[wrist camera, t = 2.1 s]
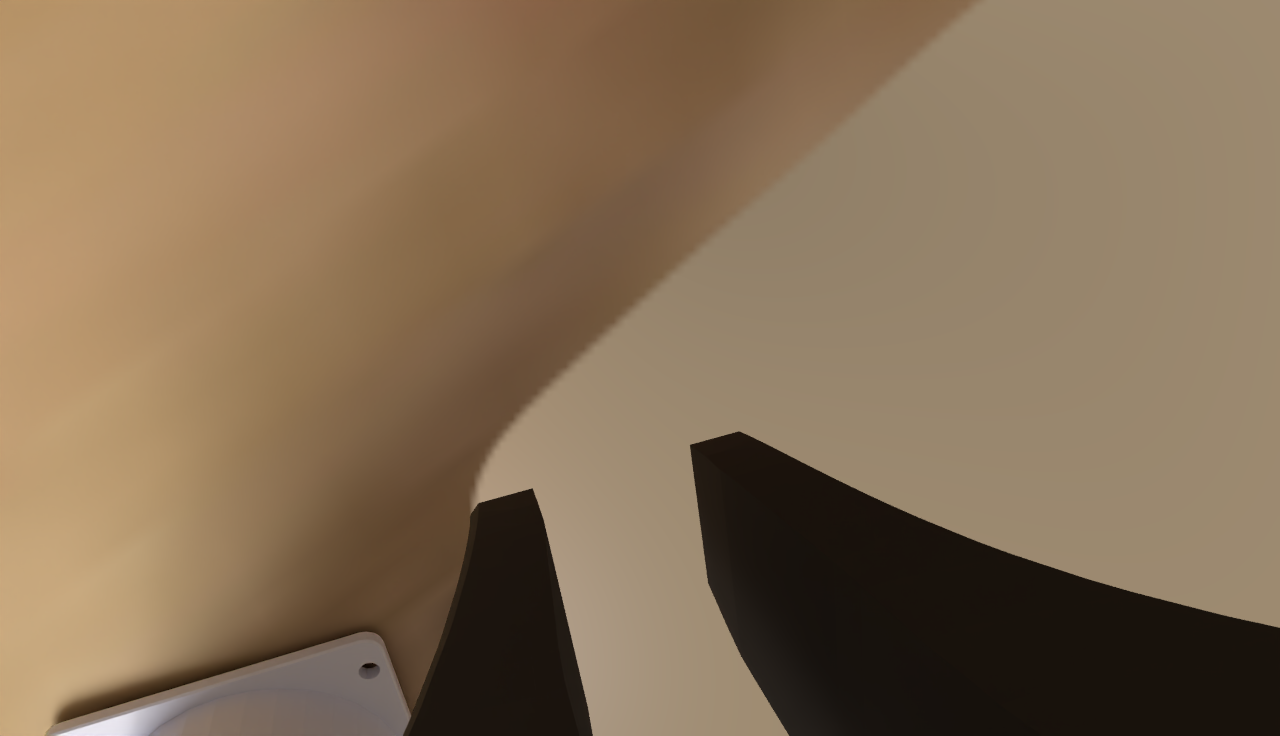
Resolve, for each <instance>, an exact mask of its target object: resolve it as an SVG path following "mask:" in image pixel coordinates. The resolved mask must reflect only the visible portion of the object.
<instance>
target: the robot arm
mask: <svg viewBox="0 0 1280 736" xmlns="http://www.w3.org/2000/svg"><path fill="white" fill-rule="evenodd" d="M690 449H691V457H692V464H693V472H694V479H695V486H696V494H697V502H698V509H699V517H700V525H701V531H702V540H703V547H704V555H705V562H706V569H707V578H708V584H709V586H710V588H711V590H712V593H713V595H714V597H715V599H716V602H717V604H718V606H719V608H720V611H721V613H722V615H723V618H724V620H725V622H726V624H727V626H728V629H729V631H730V633H731V635H732V637H733V639H734V642H735V644H736V646H737V648H738V650H739V652H740V654H741V657H742V658H743V660H744V662H745V663H746V665H747V667H748V668H749V670H750V672H751V673H752V675H753V677H754V678H755V680H756V682H757V683H758V685H759V687H760V688H761V690H762V692H763V693H764V695H765V697H766V698H767V700H768V702H769V703H770V705H771V707H772V708H773V710H774V711H775V713H776V714H777V716H778V718H779V720H780V721H781V723H782V725H783V726H784V728H785V730H786V731H787V733H788V734H789V736H1280V628H1278V627H1273V626H1268V625H1264V624H1260V623H1255V622H1251V621H1246V620H1241V619H1237V618H1233V617H1228V616H1224V615H1220V614H1216V613H1212V612H1208V611H1204V610H1200V609H1196V608H1192V607H1188V606H1184V605H1181V604H1177V603H1173V602H1168V601H1165V600H1161V599H1157V598H1153V597H1149V596H1145V595H1142V594H1138V593H1134V592H1130V591H1127V590H1123V589H1120V588H1116V587H1113V586H1109V585H1106V584H1102V583H1099V582H1095V581H1092V580H1089V579H1085V578H1082V577H1079V576H1076V575H1073V574H1070V573H1067V572H1064V571H1061V570H1058V569H1055V568H1052V567H1049V566H1046V565H1043V564H1039V563H1037V562H1033V561H1031V560H1028V559H1025V558H1022V557H1018V556H1015V555H1012V554H1010V553H1007V552H1004V551H1001V550H999V549H996V548H993V547H991V546H987V545H985V544H982V543H980V542H977V541H974V540H972V539H969V538H967V537H965V536H962V535H960V534H957V533H955V532H952V531H950V530H947V529H945V528H943V527H940V526H938V525H935V524H933V523H930V522H928V521H925V520H923V519H921V518H918V517H916V516H914V515H911V514H909V513H907V512H905V511H902V510H900V509H898V508H896V507H893V506H891V505H889V504H887V503H884V502H882V501H880V500H878V499H876V498H874V497H871V496H869V495H867V494H865V493H863V492H861V491H859V490H857V489H855V488H852V487H850V486H848V485H846V484H844V483H842V482H840V481H838V480H836V479H834V478H832V477H830V476H828V475H826V474H824V473H822V472H820V471H818V470H816V469H814V468H812V467H810V466H808V465H806V464H804V463H802V462H800V461H798V460H796V459H794V458H792V457H790V456H788V455H787V454H784V453H783V452H781V451H779V450H777V449H775V448H773V447H771V446H769V445H767V444H765V443H763V442H761V441H759V440H756V439H755V438H753V437H750V436H748V435H746V434H744V433H742V432H735V433H732V434H728V435H724V436H721V437H717V438H714V439H710V440H706V441H703V442H699V443H695V444H692V445H690ZM366 663H374V664H377V666H375V667H373V668H364V667H362V665H364V664H366ZM45 736H593V734H592V729H591V723H590V717H589V712H588V706H587V702H586V698H585V694H584V690H583V685H582V681H581V677H580V672H579V668H578V664H577V660H576V656H575V651H574V647H573V643H572V639H571V635H570V631H569V626H568V622H567V617H566V613H565V609H564V605H563V600H562V596H561V592H560V588H559V583H558V579H557V575H556V571H555V566H554V562H553V558H552V554H551V550H550V546H549V541H548V537H547V533H546V529H545V524H544V520H543V517H542V514H541V511H540V508H539V505H538V502H537V499H536V497H535V495H534V491H533V489H529V490H525V491H522V492H518V493H514V494H511V495H507V496H503V497H500V498H496V499H492V500H489V501H485V502H482V503H478V505H477V506H476V508H475V509H474V511H473V512H472V514H471V518H470V530H469V536H468V542H467V547H466V552H465V557H464V561H463V565H462V569H461V573H460V577H459V581H458V585H457V589H456V592H455V595H454V598H453V601H452V605H451V608H450V611H449V614H448V618H447V621H446V624H445V627H444V631H443V634H442V637H441V640H440V643H439V646H438V648H437V651H436V654H435V656H434V659H433V662H432V664H431V667H430V669H429V672H428V674H427V677H426V680H425V682H424V685H423V687H422V690H421V692H420V695H419V698H418V700H417V703H416V705H415V708H414V710H413V713H412V715H411V714H410V711H409V709H408V706H407V703H406V700H405V698H404V695H403V692H402V690H401V687H400V684H399V681H398V679H397V676H396V673H395V671H394V668H393V665H392V662H391V660H390V657H389V654H388V652H387V649H386V646H385V644H384V641H383V640H382V638H381V637H380V636H379V635H377V634H375V633H373V632H360V633H356V634H352V635H349V636H346V637H342V638H339V639H336V640H333V641H329V642H326V643H323V644H319V645H316V646H313V647H309V648H306V649H303V650H299V651H296V652H293V653H289V654H286V655H283V656H279V657H276V658H273V659H270V660H266V661H263V662H260V663H256V664H253V665H250V666H246V667H243V668H240V669H236V670H233V671H230V672H226V673H223V674H220V675H216V676H213V677H210V678H207V679H203V680H200V681H197V682H193V683H190V684H187V685H183V686H180V687H177V688H173V689H170V690H167V691H163V692H160V693H157V694H153V695H150V696H147V697H143V698H140V699H137V700H134V701H130V702H127V703H124V704H120V705H117V706H114V707H110V708H107V709H104V710H100V711H97V712H94V713H90V714H87V715H84V716H80V717H77V718H74V719H71V720H67V721H64V722H61V723H58V724H56V725H54V726H52V727H51V728H50V729H49V730H48V731H47V732H46V734H45Z"/></svg>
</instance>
